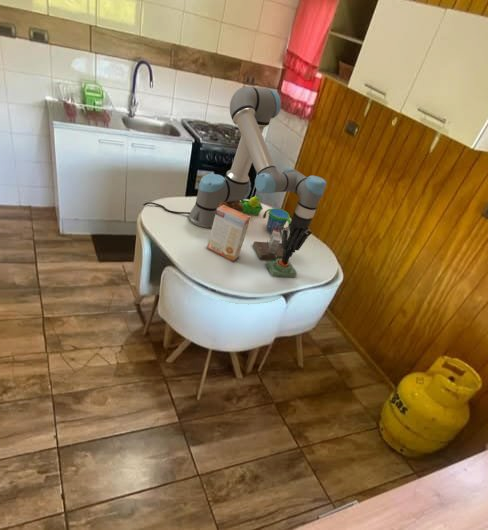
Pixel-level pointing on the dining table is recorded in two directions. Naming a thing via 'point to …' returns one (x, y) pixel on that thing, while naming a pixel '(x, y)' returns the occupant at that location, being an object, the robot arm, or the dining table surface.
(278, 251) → the brown flat block
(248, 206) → the fruit basket
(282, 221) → the snack cup
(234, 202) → the bread
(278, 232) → the tap lever
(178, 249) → the dining table surface
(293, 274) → the button housing
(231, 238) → the cracker box
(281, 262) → the button
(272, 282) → the dining table surface
